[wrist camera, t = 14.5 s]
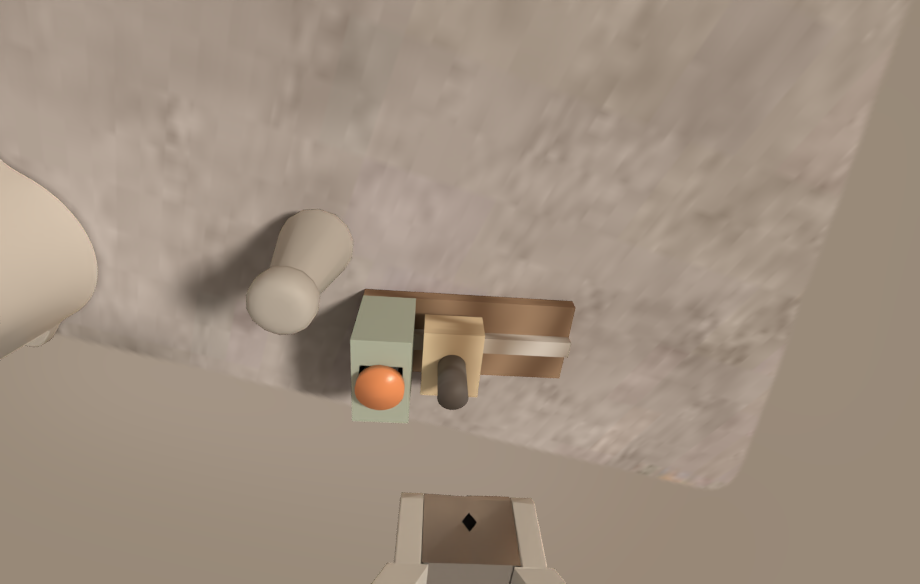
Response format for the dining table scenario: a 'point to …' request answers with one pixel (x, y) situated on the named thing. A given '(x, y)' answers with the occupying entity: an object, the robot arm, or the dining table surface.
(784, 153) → the dining table surface
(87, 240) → the robot arm
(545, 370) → the rail bed
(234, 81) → the dining table surface
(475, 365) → the carriage
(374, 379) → the button
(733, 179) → the dining table surface
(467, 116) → the dining table surface
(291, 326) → the salt shaker
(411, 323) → the end cabinet
